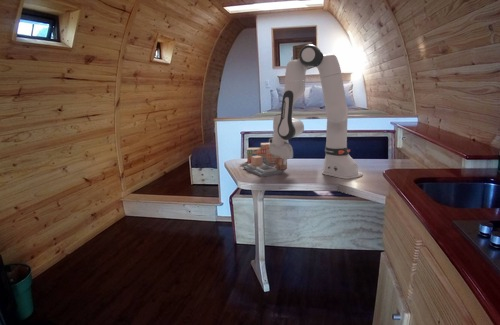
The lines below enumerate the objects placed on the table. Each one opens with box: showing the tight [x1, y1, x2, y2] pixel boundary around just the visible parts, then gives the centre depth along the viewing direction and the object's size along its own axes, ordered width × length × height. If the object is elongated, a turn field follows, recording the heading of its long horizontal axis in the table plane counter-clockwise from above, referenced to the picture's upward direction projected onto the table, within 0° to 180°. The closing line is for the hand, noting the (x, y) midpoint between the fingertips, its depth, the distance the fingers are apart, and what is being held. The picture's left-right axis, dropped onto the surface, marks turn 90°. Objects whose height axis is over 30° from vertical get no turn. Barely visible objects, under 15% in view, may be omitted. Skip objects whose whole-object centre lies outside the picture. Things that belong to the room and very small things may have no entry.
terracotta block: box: [274, 157, 288, 170], centre depth 189 cm, size 5×5×6 cm
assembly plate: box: [243, 156, 282, 178], centre depth 184 cm, size 22×13×8 cm, turn 29°
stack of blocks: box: [246, 142, 275, 164], centre depth 205 cm, size 21×6×12 cm, turn 89°
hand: (281, 163), depth 189 cm, fingers closed on terracotta block, 5 cm apart
